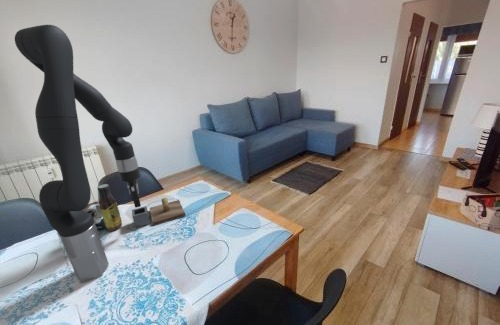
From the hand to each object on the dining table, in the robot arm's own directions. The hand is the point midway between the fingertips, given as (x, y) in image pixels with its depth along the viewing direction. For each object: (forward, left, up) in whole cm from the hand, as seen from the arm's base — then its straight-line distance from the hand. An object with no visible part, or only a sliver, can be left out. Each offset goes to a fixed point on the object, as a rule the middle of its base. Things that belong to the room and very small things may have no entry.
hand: (137, 202), depth 100 cm
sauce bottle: (+3, +11, -11) cm, 15 cm away
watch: (+6, +17, -11) cm, 21 cm away
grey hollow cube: (0, 0, -10) cm, 10 cm away
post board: (+2, -11, -10) cm, 15 cm away
